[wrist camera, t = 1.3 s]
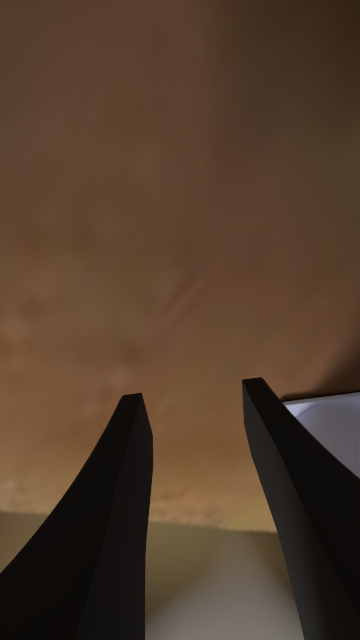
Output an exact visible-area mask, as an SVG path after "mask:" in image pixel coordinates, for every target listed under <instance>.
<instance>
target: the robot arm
mask: <svg viewBox="0 0 360 640" xmlns="http://www.w3.org/2000/svg"><path fill="white" fill-rule="evenodd" d="M242 389H243V410H244V425H245V430H246V434H247V439H248V443H249V447H250V451H251V455H252V458H253V461H254V464H255V467H256V470H257V473H258V476H259V479H260V482H261V485H262V487H263V490H264V493H265V496H266V499H267V502H268V505H269V508H270V511H271V514H272V517H273V520H274V522H275V526H276V529H277V532H278V535H279V539H280V542H281V545H282V550H283V554H284V558H285V562H286V566H287V570H288V574H289V577H290V582H291V586H292V590H293V594H294V598H295V602H296V606H297V610H298V614H299V618H300V622H301V627H302V631H303V635H304V639H305V640H360V392H358V393H350V394H342V395H335V396H327V397H319V398H311V399H303V400H295V401H287V402H281V400H280V399H279V398H278V397H277V396H276V394H275V393H274V392H273V391H272V389H271V388H270V387H269V386H268V384H267V383H266V381H265V380H264V379H262V378H261V377H260V378H252V379H244V380H242ZM152 474H153V434H152V431H151V427H150V423H149V419H148V415H147V411H146V408H145V404H144V400H143V396H142V393H137V394H129V395H123V396H122V397H121V399H120V401H119V403H118V405H117V407H116V409H115V411H114V413H113V415H112V417H111V419H110V421H109V423H108V425H107V427H106V429H105V430H104V432H103V434H102V436H101V437H100V439H99V441H98V443H97V444H96V446H95V448H94V450H93V451H92V453H91V455H90V456H89V458H88V460H87V461H86V463H85V464H84V466H83V467H82V469H81V471H80V472H79V474H78V475H77V477H76V478H75V480H74V481H73V483H72V484H71V486H70V487H69V489H68V490H67V492H66V493H65V494H64V496H63V497H62V499H61V500H60V501H59V503H58V504H57V505H56V507H55V508H54V509H53V511H52V512H51V513H50V515H49V516H48V517H47V519H46V520H45V521H44V523H43V524H42V525H41V526H40V527H39V529H38V530H37V531H36V532H35V534H34V535H33V536H32V537H31V539H30V540H29V541H28V542H27V544H26V545H25V546H24V547H23V548H22V549H21V551H20V552H19V553H18V554H17V555H16V557H15V558H14V559H13V560H12V561H11V562H10V563H9V564H8V566H7V567H6V568H5V569H4V570H3V571H2V572H1V573H0V640H145V554H146V538H147V527H148V517H149V506H150V495H151V485H152Z"/></svg>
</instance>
